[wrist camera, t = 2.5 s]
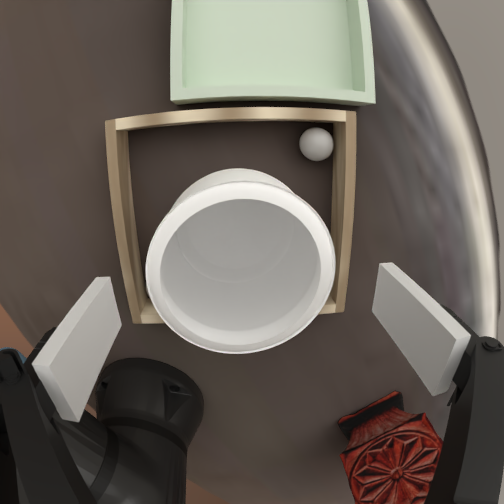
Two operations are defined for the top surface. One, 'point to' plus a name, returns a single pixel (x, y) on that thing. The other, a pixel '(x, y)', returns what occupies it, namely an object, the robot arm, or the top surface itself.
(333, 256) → the jar
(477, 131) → the top surface
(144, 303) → the bin
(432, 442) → the vase
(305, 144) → the pebble
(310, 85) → the bin
